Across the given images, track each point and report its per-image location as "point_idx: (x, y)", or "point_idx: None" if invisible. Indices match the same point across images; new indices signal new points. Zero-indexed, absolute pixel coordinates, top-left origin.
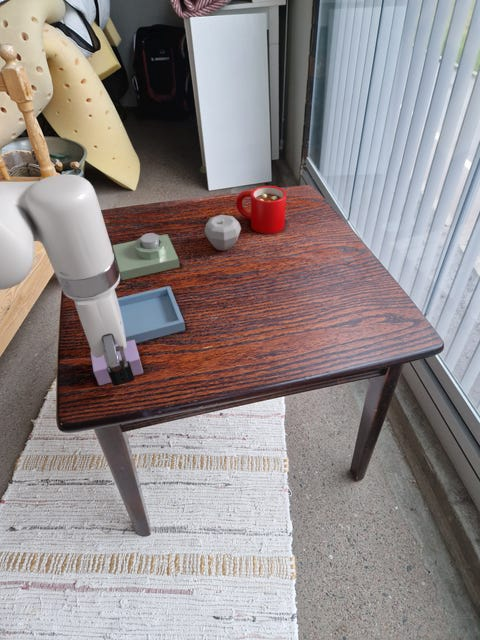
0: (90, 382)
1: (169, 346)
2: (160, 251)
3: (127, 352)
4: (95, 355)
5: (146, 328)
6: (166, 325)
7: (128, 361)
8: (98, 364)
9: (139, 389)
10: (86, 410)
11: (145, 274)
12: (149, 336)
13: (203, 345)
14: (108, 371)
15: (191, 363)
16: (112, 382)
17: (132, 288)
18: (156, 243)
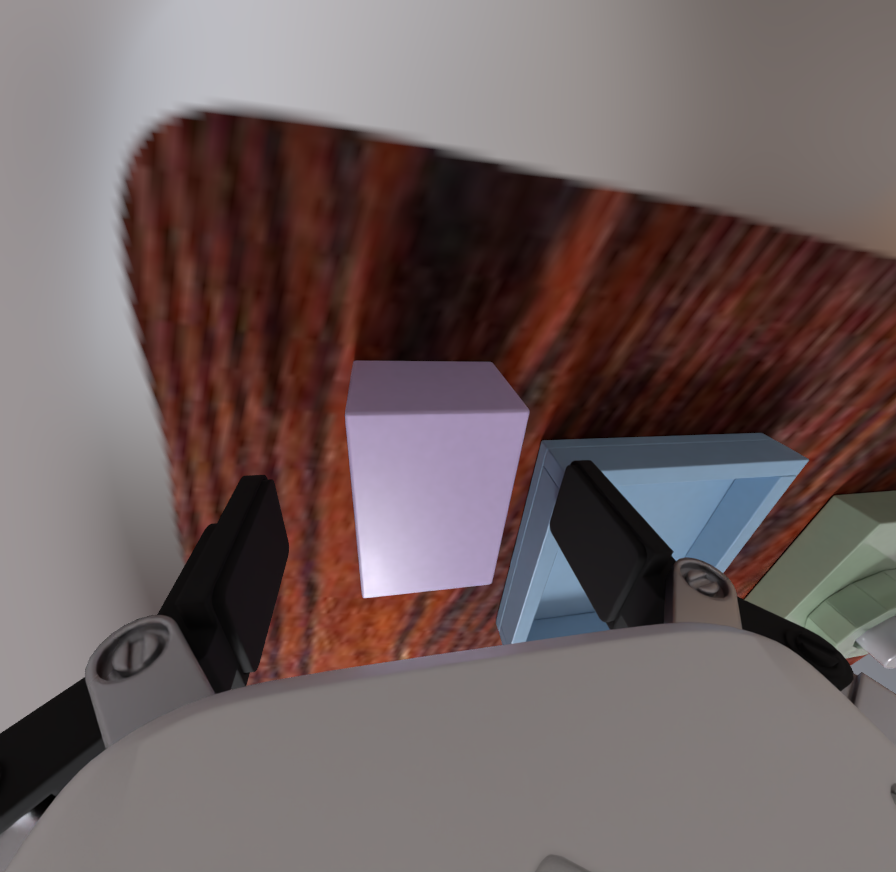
0: (392, 320)
1: (454, 588)
2: (826, 640)
3: (425, 562)
4: (10, 865)
5: (546, 582)
6: (521, 626)
7: (239, 685)
8: (397, 444)
9: (285, 504)
10: (188, 269)
11: (786, 555)
12: (519, 562)
13: (415, 649)
14: (190, 583)
15: (358, 627)
16: (232, 495)
17: (769, 518)
18: (869, 652)
